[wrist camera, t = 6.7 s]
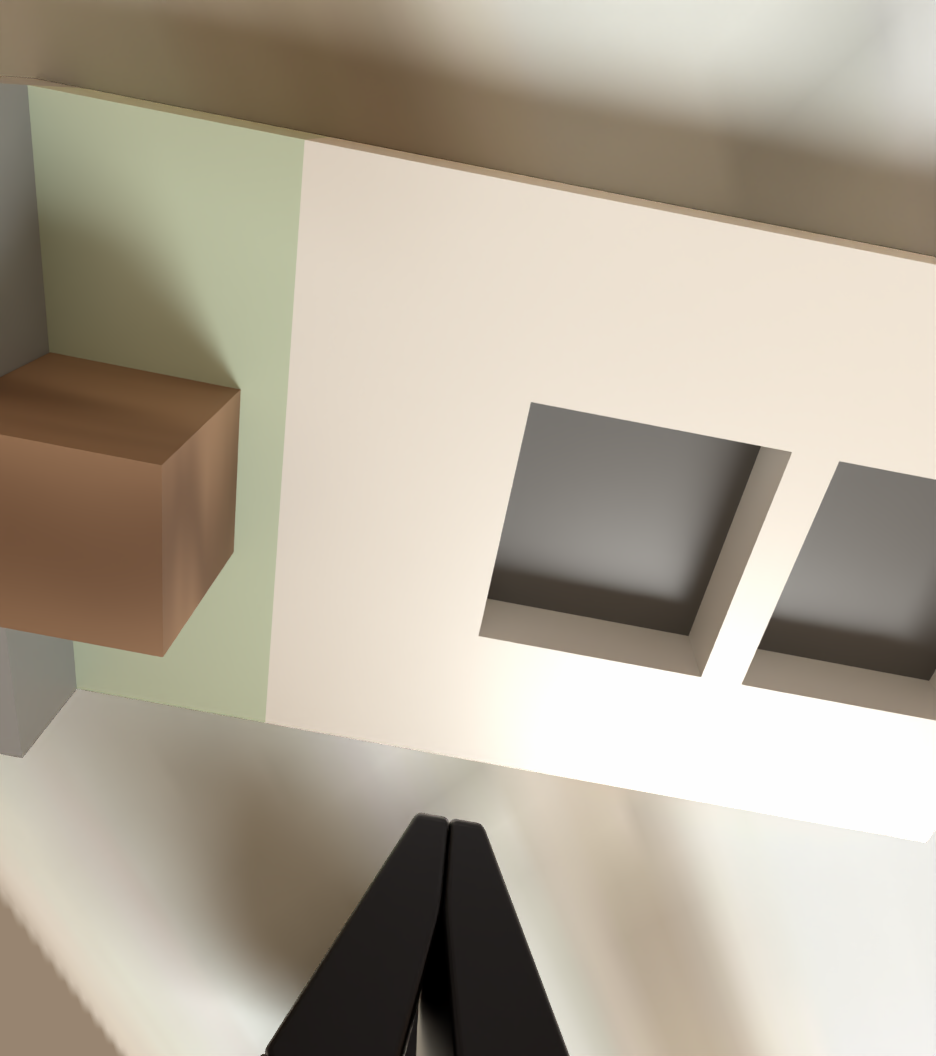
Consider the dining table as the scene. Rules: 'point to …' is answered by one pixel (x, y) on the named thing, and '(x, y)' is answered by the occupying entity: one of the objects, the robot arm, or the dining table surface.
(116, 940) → the dining table surface
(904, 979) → the dining table surface
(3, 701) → the board
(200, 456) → the walnut block
